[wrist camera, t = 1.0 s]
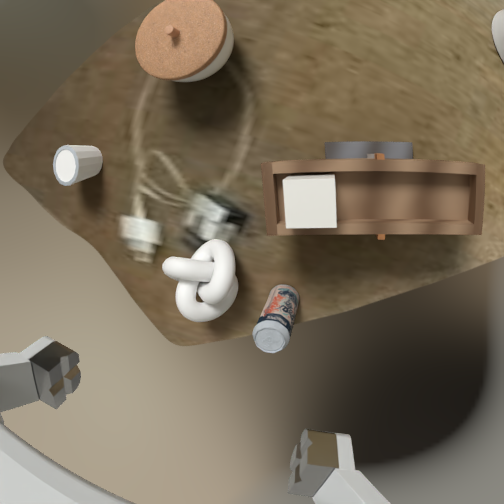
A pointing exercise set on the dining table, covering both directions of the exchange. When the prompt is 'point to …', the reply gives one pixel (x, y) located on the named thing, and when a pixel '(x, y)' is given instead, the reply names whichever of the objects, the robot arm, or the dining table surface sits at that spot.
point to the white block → (310, 201)
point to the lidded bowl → (184, 40)
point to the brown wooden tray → (384, 191)
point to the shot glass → (76, 163)
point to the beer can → (276, 319)
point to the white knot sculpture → (204, 281)
